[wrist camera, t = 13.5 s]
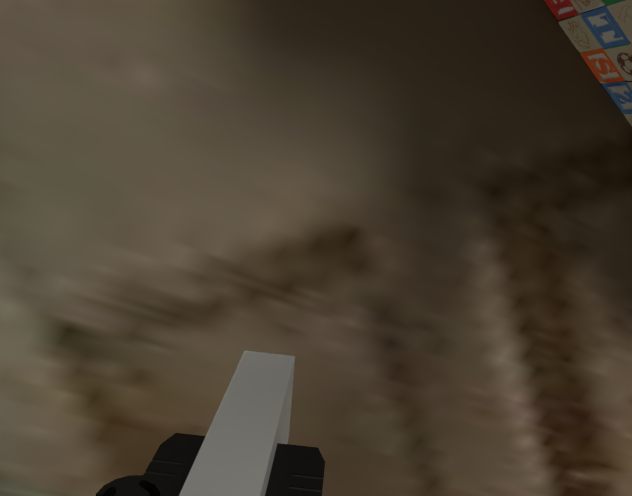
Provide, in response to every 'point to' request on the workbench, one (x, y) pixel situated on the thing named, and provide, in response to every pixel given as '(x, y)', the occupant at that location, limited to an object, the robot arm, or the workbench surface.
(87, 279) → the workbench surface
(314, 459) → the robot arm
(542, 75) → the workbench surface
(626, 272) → the workbench surface
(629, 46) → the stack of blocks
